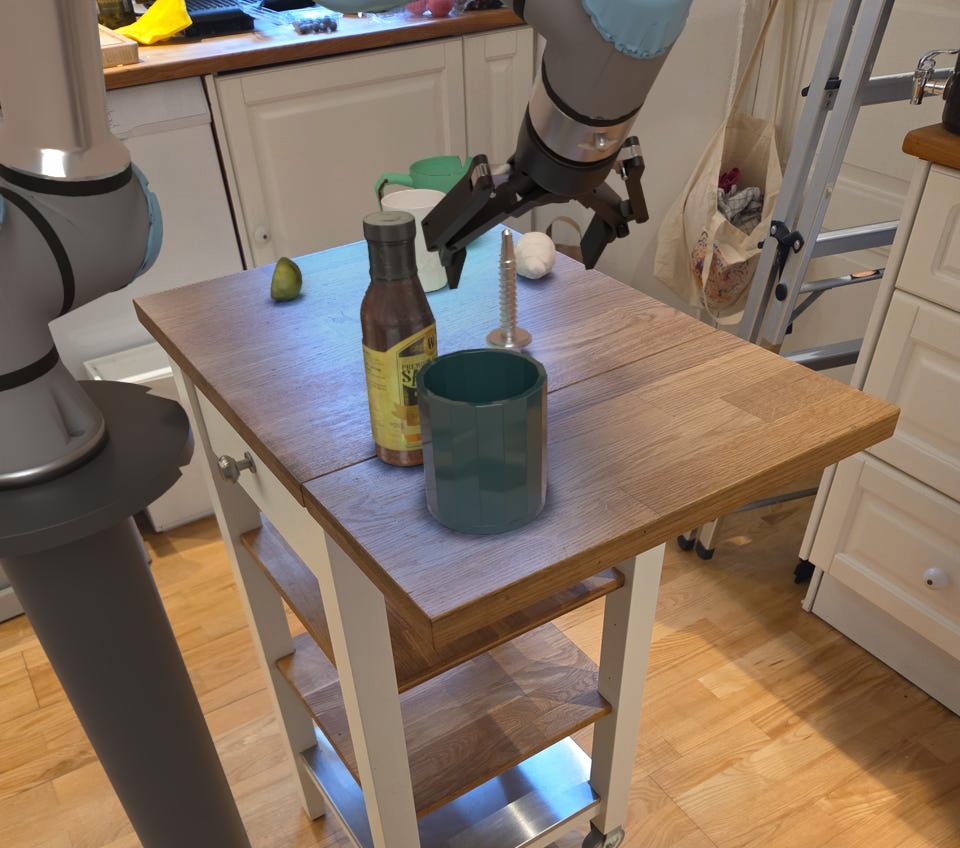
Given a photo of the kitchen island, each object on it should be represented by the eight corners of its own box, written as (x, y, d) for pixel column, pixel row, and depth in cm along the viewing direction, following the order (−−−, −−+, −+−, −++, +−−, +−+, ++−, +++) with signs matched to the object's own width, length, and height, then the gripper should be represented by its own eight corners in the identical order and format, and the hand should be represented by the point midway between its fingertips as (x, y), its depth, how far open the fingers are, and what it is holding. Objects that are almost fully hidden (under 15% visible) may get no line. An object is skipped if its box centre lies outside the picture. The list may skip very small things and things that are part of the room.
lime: (275, 309, 106) (266, 267, 103) (265, 296, 110) (257, 255, 106) (310, 302, 108) (303, 260, 104) (300, 290, 111) (293, 248, 108)
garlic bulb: (516, 292, 107) (515, 245, 104) (511, 275, 112) (510, 230, 108) (560, 289, 108) (561, 242, 104) (553, 272, 112) (554, 227, 108)
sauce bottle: (420, 476, 76) (396, 236, 63) (361, 461, 79) (326, 226, 65) (458, 442, 80) (443, 210, 67) (401, 428, 83) (375, 202, 70)
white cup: (451, 270, 114) (446, 187, 107) (453, 293, 108) (448, 205, 101) (390, 274, 114) (381, 191, 107) (389, 297, 108) (380, 210, 101)
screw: (504, 343, 96) (540, 353, 94) (477, 359, 93) (514, 370, 91) (501, 217, 88) (541, 224, 85) (471, 231, 85) (512, 239, 82)
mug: (481, 230, 126) (478, 152, 119) (491, 252, 119) (488, 171, 112) (379, 239, 125) (370, 161, 118) (383, 262, 117) (374, 180, 111)
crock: (407, 491, 75) (393, 368, 67) (506, 458, 78) (503, 338, 71) (462, 548, 68) (454, 418, 61) (568, 510, 71) (572, 383, 64)
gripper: (420, 188, 61) (399, 322, 82) (748, 148, 65) (649, 285, 86) (397, 85, 61) (382, 245, 82) (725, 52, 65) (632, 212, 86)
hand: (519, 266), depth 84 cm, fingers open, 13 cm apart
